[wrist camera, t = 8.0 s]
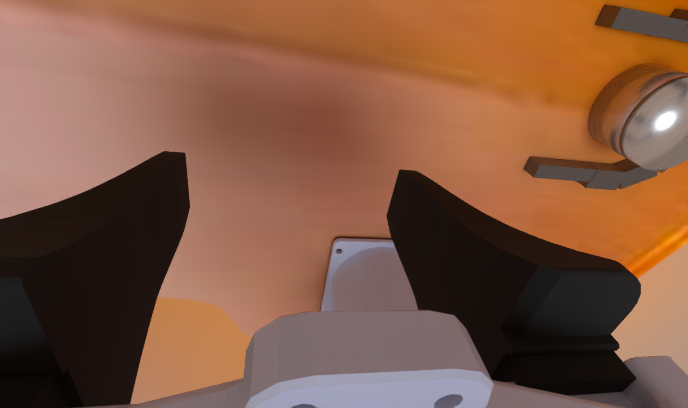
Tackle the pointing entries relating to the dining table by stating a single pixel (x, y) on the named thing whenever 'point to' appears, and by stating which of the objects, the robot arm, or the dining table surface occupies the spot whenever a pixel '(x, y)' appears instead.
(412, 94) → the dining table surface
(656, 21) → the u-shaped bracket
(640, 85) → the cylinder
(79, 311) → the robot arm
